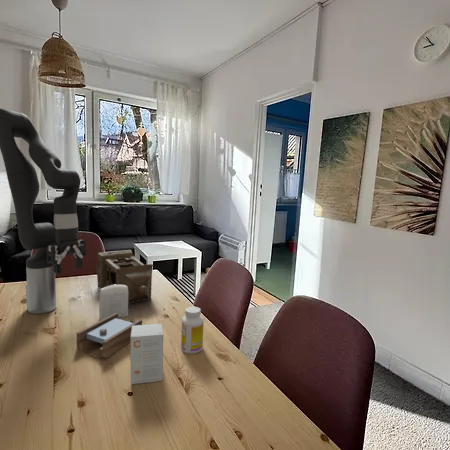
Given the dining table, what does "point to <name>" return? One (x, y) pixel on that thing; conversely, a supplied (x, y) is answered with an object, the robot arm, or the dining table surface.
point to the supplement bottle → (192, 331)
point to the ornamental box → (125, 274)
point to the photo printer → (113, 301)
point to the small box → (146, 353)
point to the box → (110, 344)
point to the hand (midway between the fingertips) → (68, 271)
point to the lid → (107, 330)
